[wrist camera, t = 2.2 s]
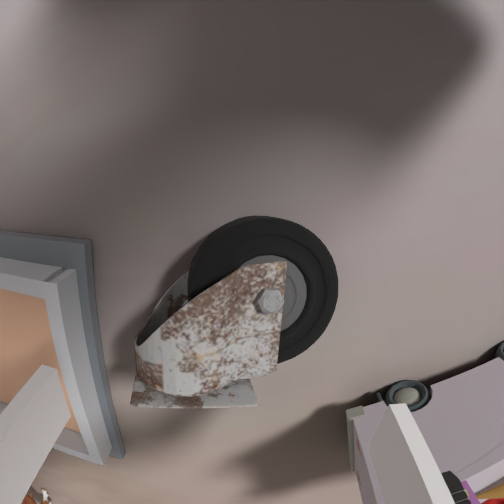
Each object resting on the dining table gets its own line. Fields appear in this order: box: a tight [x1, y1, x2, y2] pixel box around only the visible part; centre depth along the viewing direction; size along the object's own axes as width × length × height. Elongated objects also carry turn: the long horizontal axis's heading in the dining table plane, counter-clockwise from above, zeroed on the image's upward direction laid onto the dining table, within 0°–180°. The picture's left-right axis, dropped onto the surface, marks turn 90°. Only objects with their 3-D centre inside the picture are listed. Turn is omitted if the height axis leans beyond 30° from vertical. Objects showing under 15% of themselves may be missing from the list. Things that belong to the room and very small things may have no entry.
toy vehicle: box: [346, 342, 504, 504], centre depth 16 cm, size 9×20×15 cm, turn 103°
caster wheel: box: [130, 216, 338, 408], centre depth 18 cm, size 7×11×10 cm
